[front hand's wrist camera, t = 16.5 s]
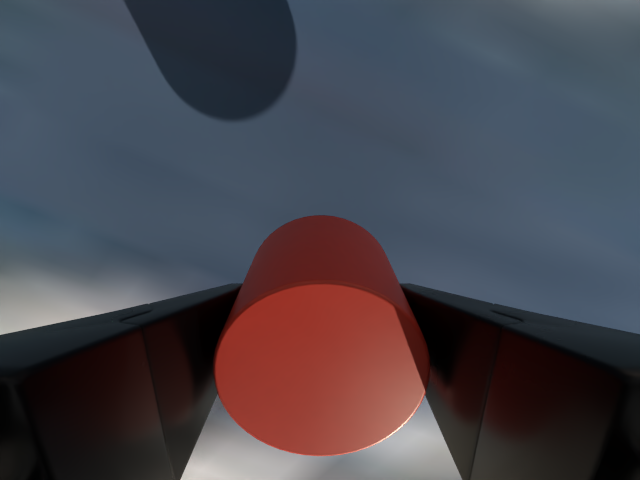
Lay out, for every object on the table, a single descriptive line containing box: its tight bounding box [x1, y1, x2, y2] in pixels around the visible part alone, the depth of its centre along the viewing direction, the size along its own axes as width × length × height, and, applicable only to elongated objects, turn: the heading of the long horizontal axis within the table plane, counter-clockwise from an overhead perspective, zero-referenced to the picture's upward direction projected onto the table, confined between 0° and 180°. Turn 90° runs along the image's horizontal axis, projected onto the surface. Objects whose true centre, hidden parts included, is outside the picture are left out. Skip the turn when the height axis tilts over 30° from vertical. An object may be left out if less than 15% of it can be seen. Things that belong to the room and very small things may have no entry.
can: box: [213, 215, 430, 456], centre depth 10 cm, size 5×5×5 cm
